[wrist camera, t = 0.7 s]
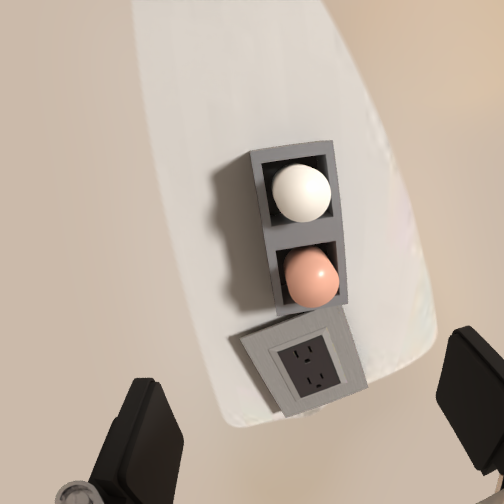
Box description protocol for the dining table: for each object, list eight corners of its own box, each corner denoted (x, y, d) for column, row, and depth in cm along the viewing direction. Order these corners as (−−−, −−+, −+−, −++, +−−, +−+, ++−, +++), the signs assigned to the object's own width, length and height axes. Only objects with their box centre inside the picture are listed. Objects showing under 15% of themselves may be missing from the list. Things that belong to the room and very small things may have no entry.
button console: (249, 150, 27) (249, 152, 23) (321, 140, 27) (332, 140, 23) (273, 295, 32) (277, 316, 28) (337, 284, 31) (348, 303, 28)
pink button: (280, 248, 28) (285, 265, 24) (325, 241, 28) (337, 256, 24) (286, 289, 29) (291, 311, 25) (329, 282, 29) (340, 302, 25)
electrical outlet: (363, 376, 36) (368, 389, 34) (284, 406, 37) (286, 419, 35) (334, 290, 32) (340, 301, 30) (240, 328, 33) (239, 341, 31)
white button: (267, 167, 26) (270, 171, 22) (315, 160, 25) (327, 163, 22) (275, 214, 27) (279, 226, 23) (321, 207, 27) (333, 217, 23)
